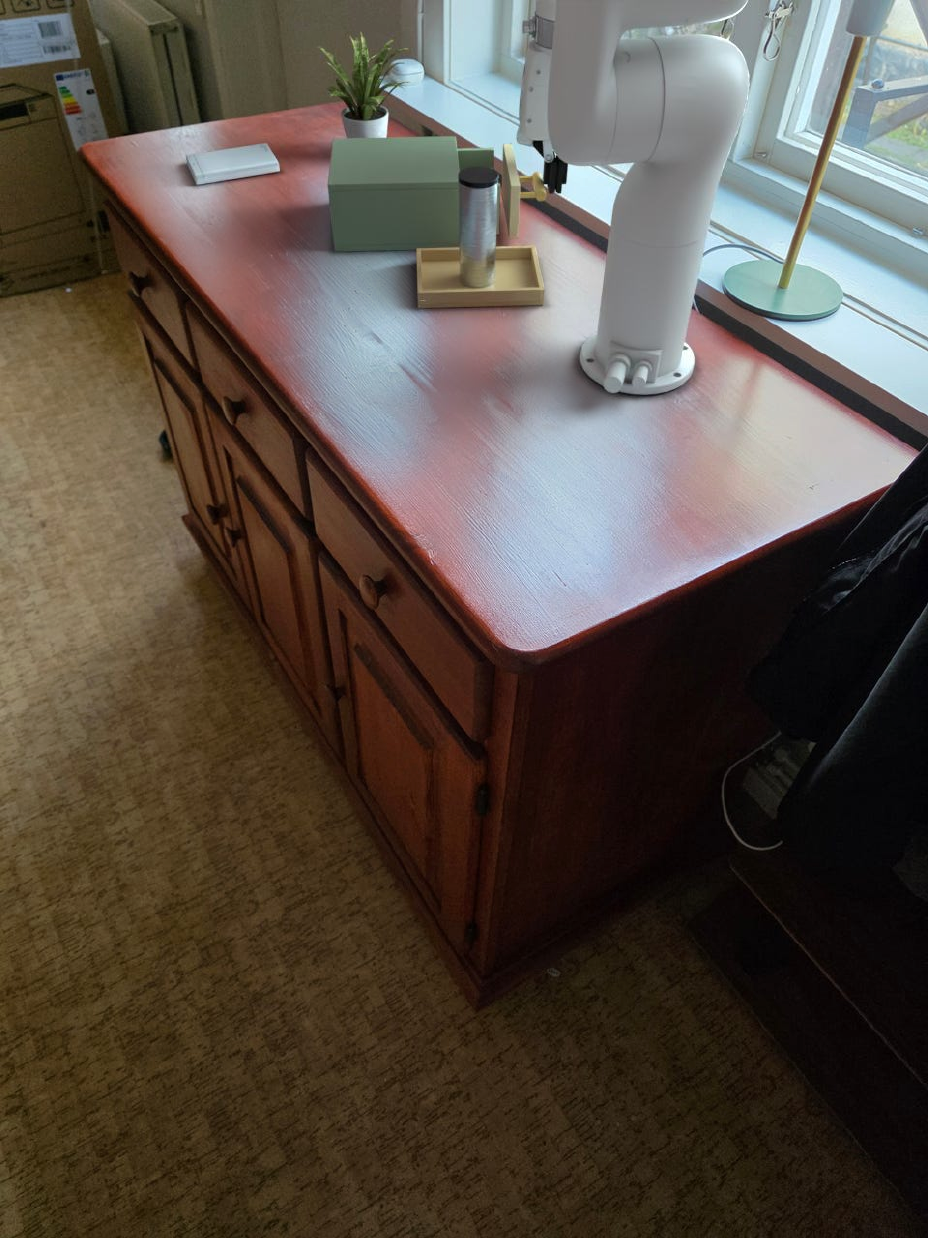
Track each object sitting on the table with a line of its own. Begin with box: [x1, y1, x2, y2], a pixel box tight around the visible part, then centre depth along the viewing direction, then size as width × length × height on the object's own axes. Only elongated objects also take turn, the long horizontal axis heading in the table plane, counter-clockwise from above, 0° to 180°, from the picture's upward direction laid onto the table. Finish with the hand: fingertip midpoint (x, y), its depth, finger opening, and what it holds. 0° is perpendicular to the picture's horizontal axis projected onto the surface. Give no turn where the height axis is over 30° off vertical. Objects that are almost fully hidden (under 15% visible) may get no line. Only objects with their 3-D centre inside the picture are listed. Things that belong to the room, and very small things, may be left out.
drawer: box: [457, 143, 548, 240], centre depth 119 cm, size 19×13×7 cm
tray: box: [415, 245, 546, 309], centre depth 110 cm, size 15×11×2 cm
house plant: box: [314, 31, 413, 138], centre depth 130 cm, size 14×14×16 cm
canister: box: [458, 167, 500, 288], centre depth 106 cm, size 5×5×13 cm
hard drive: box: [185, 142, 281, 186], centre depth 133 cm, size 2×8×12 cm
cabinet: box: [327, 135, 460, 253], centre depth 118 cm, size 17×15×9 cm
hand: (554, 188), depth 119 cm, fingers closed
